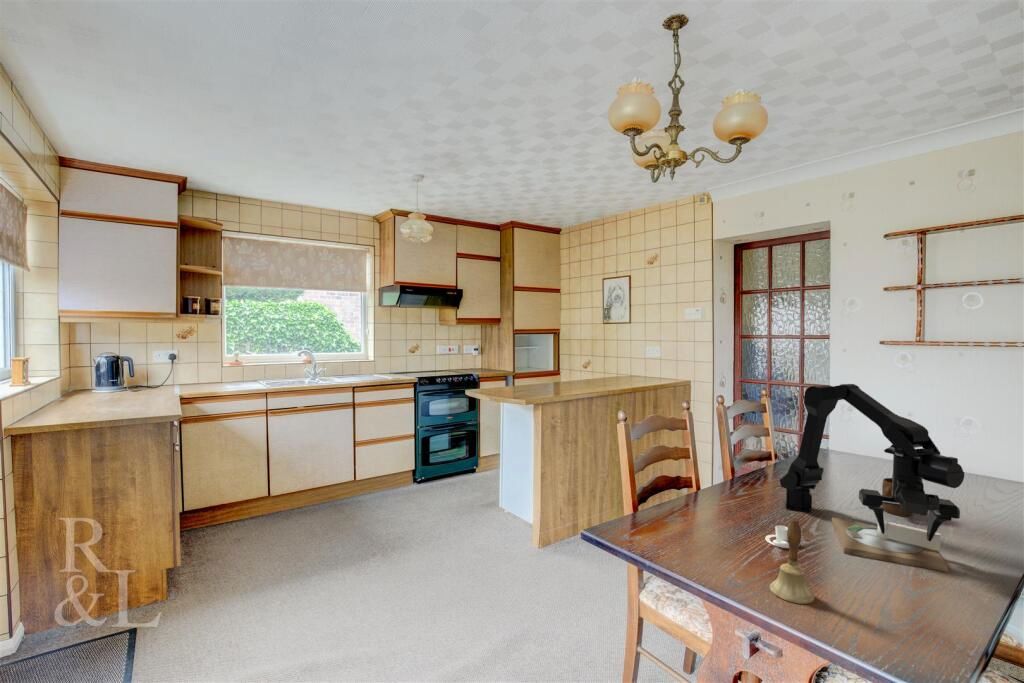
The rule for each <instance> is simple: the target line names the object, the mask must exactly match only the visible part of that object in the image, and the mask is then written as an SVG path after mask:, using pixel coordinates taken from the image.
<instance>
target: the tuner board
mask: <svg viewBox="0 0 1024 683" xmlns="http://www.w3.org/2000/svg"><path fill="white" fill-rule="evenodd" d="M831 525H832V527H833V530H834V532H835V534H836V537H837V539H838V542H839V544H840V547H841V549H842V552H843V554H846V555H853V556H856V557H857V556H858V557H864V558H868V559H869V558H870V559H873V560H878V561H879V560H880V561H885V562H891V563H897V564H901V565H906V566H913V567H919V568H924V569H929V570H934V571H941V572H946V573H948V571H949V566H948V564H947V563H946V562H945V560H944V559H943V557H942V556H941V555H940V554H939V553H938V552H937V550H934V549H930V548H926V547H921V546H917V545H913V544H909V543H905V542H901V541H897V540H893V539H889V540H884V539H880V538H878V537H877V526H874V525H870V524H865V523H861V522H857V521H853V520H851V519H847V518H846V519H845V518H838V517H833V516H832V517H831Z"/></svg>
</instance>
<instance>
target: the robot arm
mask: <svg viewBox="0 0 1024 683" xmlns="http://www.w3.org/2000/svg"><path fill="white" fill-rule="evenodd" d="M803 398H804V400H803V401H804V403H803V405H804V407H805V409H806V411H807V414H806V415H807V416H806V419H805V424H804V428H803V433H802V438H801V442H800V447H799V450H798V454H797V455H798V456H797V457H795V459H794V460H793V461H792V462H791V464H790V466H789V468H788V470H787V474H785V475H784V476H783V477H781V478H780V479H779V483H780V484H779V485H780V487H781V488H784V489H785V500H784V506H785V509H786V510H793V511H800V512H805V513H810V512H811V509H812V507H813V495H812V493H811V490H815V489H816V487H817V484H819V483H820V481H822V480H823V473H824V467H821V466H820V465H819V462H818V458H819V453H820V449H821V445H822V441H823V436H824V432H825V427H826V423H827V419H828V417H829V416H830V415H831V413H833V411H834V410H835V409H836V406H837V405H838V401H842V400H844V401H845V402H847V403H848V404H849V405H850V406H852V407H853V408H855V409H856V410H857V411H859V412H860V413H861V414H863V415H864V416H865V417H867V418H868V419H869V420H870V421H871V422H873V423H874V424H875V425H877V426H878V428H880V431H881V432H882V434H883V436H884V437H885V438H886V440H888V441H889V443H890V444H891V445H890V446H889V447H886V448H885V449H883V451H884V453H886V454H890V455H893V458H892V475H891V478H892V479H893V484H892V497H890V496H883V495H882V494H881V493H880V492H879V490H875V489H865V488H861V489H859V490H858V499H859V501H860V503H861V505H863V506H865V507H867V508H868V509H869V510H871V511H873V513H874V516H875V517H876V521H877V523H878V524H879V527H880V530H881V532H882V534H884V531H885V527H884V520H885V518H884V517H885V516H884V512H885V511H884V509H883V508H882V503H884V504H892V505H899V506H901V509H902V511H903V512H905V513H908V514H911V513H913V515H920V516H925V517H926V516H927V527H926V530H927V540H928V541H931V540H932V538H933V536H934V534H935V533H937V531H938V529H939V528H940V526H941V525H942V524H943V523H945V522H951V521H952V520H953V519H956V520H959V519H960V517H961V512H960V507H958V506H957V505H956V504H955V503H954V502H953V501H951V500H950V499H946V498H945V499H943V498H939V495H938V494H932V493H931V494H930V493H926V492H925V490H924V487H925V486H924V483H923V482H924V481H927V482H931V483H933V484H938V485H940V486H944V487H947V488H951V489H957V488H959V487H960V486H961V485H963V482H964V479H965V471H964V470H963V467H962V466H961V464H959V462H958V461H959V459H958V457H953V456H946V455H942V454H941V451H940V450H939V449H938V447H937V446H936V444H935V442H934V441H933V440H932V438H931V436H929V431H928V429H927V428H926V427H925V426H923V425H922V424H919V423H918V422H915V421H913V420H912V419H910V418H906V417H903V416H900V415H898V414H896V413H895V412H893V411H892V410H890V409H889V408H887V407H886V406H884V405H883V404H881V403H880V402H879V401H878V400H876V399H875V398H873V397H872V396H870V395H869V394H867V393H866V392H865V391H863V390H862V389H861V388H860V386H858V385H857V384H854V383H842V384H839V385H828V384H827V385H812V386H809V387H808V388H805V390H804V397H803ZM923 480H924V481H923Z"/></svg>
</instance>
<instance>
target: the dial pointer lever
mask: <svg viewBox="0 0 1024 683" xmlns="http://www.w3.org/2000/svg"><path fill="white" fill-rule="evenodd" d="M850 520H853V521H857V522H861V523H865V524H870V525H874V526H877V537H878V538H880V539H884V540H889V539H893V540H897V541H901V542H905V543H909V544H913V545H917V546H921V547H926V548H930V549H934V550H936V551H938V552H940V551H941V536H942V535H941V532H940V533H939V532H936V533H935V534H934V536H933V538H932V540H931V541H928V540H927V529H921V528H919V527H913V526H909V525H904V524H899V523H894V522H891V521H888V520H885V519H884V527H885V531H884V534H882V532H881V530H880V527H879V524H878V522H874V521H869V520H864V519H862V518H861V519H860V518H855V517H850Z"/></svg>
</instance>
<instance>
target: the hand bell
mask: <svg viewBox="0 0 1024 683" xmlns="http://www.w3.org/2000/svg"><path fill="white" fill-rule="evenodd" d="M787 539H788V540H787V542H788V543H789V548H788V549H789V550H788V558H787V563H782V564H781V565H780V568H779V572H778V576H777V578H776V579H775V580H774V581H772V582H771V583H770V584H769V590H770V592H771V593H772V594H773V595H775V596H776V597H778V598H780V599H782V600H784V601H787V602H790V603H794V604H798V605H799V604H800V605H805V604H807V605H808V604H811V603H813V602H814V601H815V595H814V594H813V592H812V591H811V590H810V589H809V587H808V583H807V582H806V575H805V574H806V573H805V570H804V568H802V567H801V566H799V565H798V561H799V560H798V557H799V556H798V551H799V547H800V546H799V544H800V545H801V540H802V530H801V526H800V523H799V520H798V519H797V518H791V519H790V522H789V525H788V530H787Z"/></svg>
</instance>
